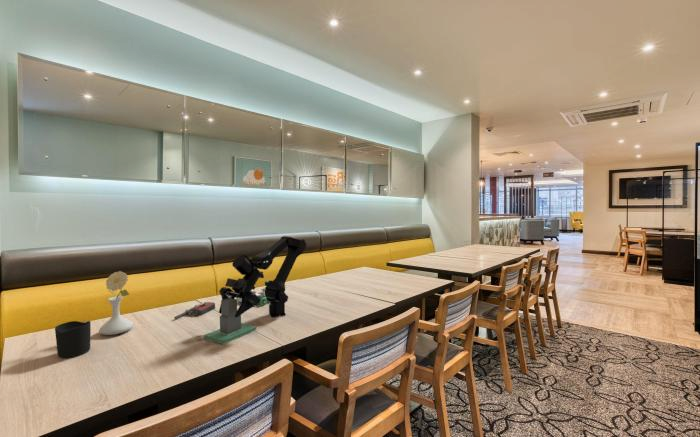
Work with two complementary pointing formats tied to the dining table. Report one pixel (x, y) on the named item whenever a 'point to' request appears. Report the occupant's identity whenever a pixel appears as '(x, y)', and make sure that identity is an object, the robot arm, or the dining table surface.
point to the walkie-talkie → (199, 309)
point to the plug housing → (229, 316)
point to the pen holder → (73, 338)
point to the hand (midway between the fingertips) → (227, 314)
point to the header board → (225, 338)
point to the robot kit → (262, 299)
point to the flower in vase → (116, 306)
